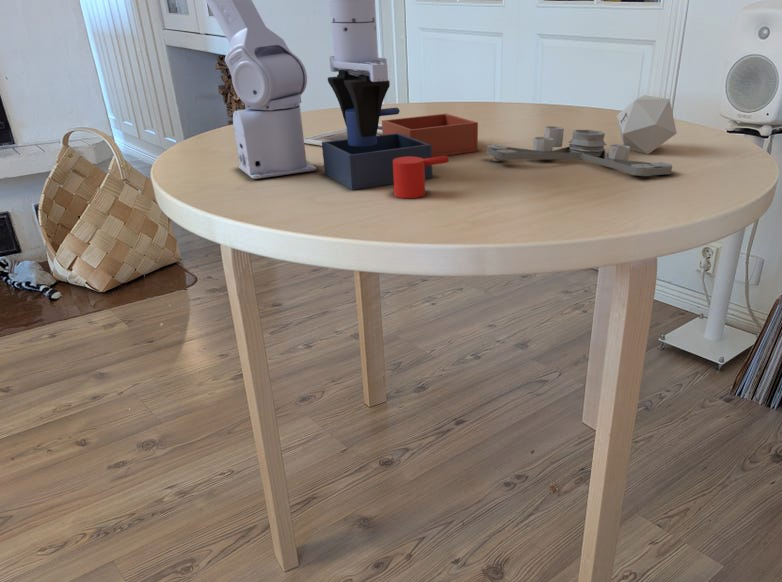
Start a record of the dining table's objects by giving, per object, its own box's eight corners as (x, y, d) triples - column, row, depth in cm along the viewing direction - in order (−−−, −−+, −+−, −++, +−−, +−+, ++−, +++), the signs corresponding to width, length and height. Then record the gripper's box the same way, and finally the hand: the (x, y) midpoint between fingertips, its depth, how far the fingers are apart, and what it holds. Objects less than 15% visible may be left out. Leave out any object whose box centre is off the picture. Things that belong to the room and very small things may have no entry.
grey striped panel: (345, 149, 109) (412, 131, 122) (344, 145, 109) (412, 128, 122) (300, 142, 115) (368, 125, 127) (299, 138, 114) (368, 122, 127)
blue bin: (352, 190, 88) (349, 155, 86) (324, 174, 96) (321, 142, 93) (432, 177, 93) (431, 144, 91) (400, 163, 101) (398, 132, 99)
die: (625, 146, 113) (603, 99, 106) (677, 120, 109) (657, 70, 103) (635, 175, 108) (612, 128, 101) (689, 149, 104) (670, 99, 97)
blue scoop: (354, 147, 89) (352, 113, 87) (343, 142, 92) (340, 109, 90) (406, 141, 92) (405, 108, 90) (394, 136, 95) (392, 104, 93)
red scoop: (402, 200, 84) (401, 164, 81) (389, 193, 87) (387, 158, 84) (456, 191, 87) (456, 157, 85) (441, 184, 90) (440, 151, 88)
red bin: (411, 160, 103) (410, 130, 100) (383, 148, 110) (381, 120, 108) (477, 151, 108) (478, 122, 106) (446, 140, 115) (446, 113, 113)
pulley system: (507, 149, 111) (477, 164, 98) (509, 120, 109) (479, 131, 96) (675, 168, 103) (666, 186, 90) (681, 136, 100) (673, 151, 88)
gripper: (407, 22, 80) (412, 138, 87) (360, 19, 91) (367, 122, 98) (353, 25, 77) (362, 145, 84) (311, 21, 88) (322, 127, 95)
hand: (361, 133), depth 91 cm, fingers closed on blue scoop, 4 cm apart
